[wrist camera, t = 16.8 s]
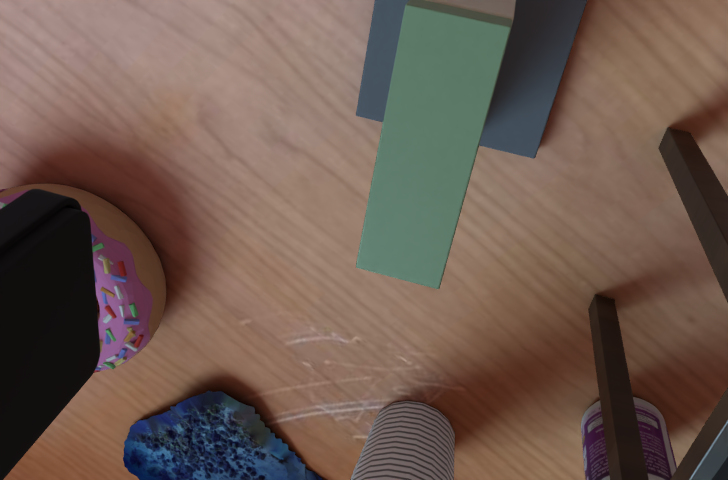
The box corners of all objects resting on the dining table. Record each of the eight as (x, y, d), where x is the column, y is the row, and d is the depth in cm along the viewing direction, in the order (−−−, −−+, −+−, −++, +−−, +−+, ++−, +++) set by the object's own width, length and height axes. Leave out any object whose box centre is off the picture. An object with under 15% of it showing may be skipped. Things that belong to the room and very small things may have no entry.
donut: (208, 327, 48) (177, 372, 43) (59, 352, 53) (17, 395, 48) (114, 147, 42) (66, 179, 38) (-44, 194, 47) (-102, 228, 42)
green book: (457, -56, 31) (405, -1, 18) (521, -43, 31) (513, 23, 18) (418, 124, 36) (354, 267, 23) (472, 137, 35) (439, 290, 23)
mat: (392, -84, 32) (388, -83, 31) (598, -42, 31) (600, -39, 30) (359, 110, 37) (355, 116, 36) (534, 152, 36) (534, 159, 35)
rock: (219, 369, 49) (208, 387, 48) (364, 509, 54) (359, 530, 52) (111, 434, 56) (99, 452, 55) (248, 553, 61) (240, 572, 59)
